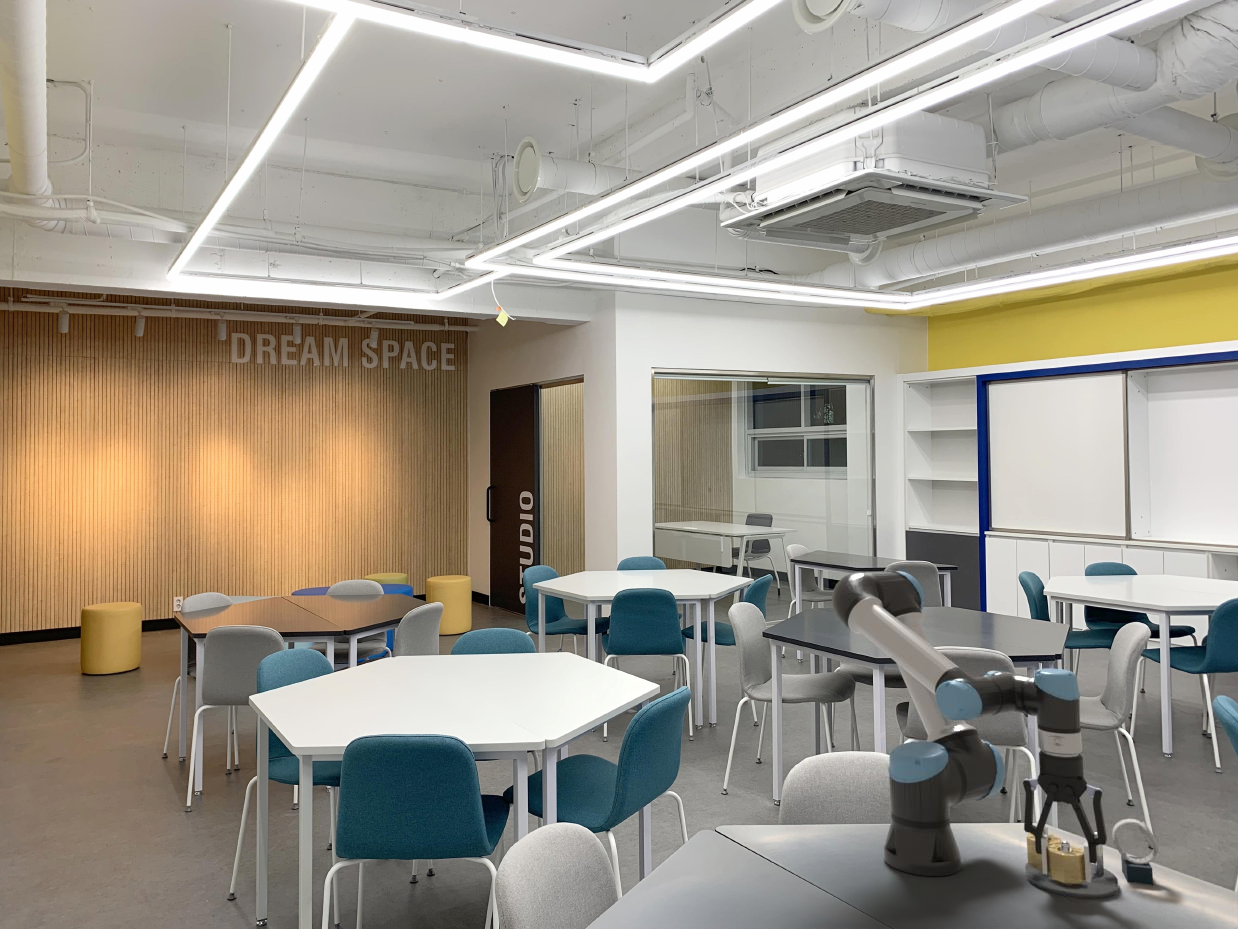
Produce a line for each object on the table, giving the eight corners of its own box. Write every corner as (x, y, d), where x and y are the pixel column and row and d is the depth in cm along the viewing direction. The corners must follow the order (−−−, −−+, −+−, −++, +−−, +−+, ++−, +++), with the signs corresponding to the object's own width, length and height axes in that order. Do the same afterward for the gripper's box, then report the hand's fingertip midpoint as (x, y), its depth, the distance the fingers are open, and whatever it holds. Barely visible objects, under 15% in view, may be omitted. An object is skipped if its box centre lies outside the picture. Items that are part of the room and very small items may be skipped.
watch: (1165, 886, 163) (1161, 827, 164) (1117, 881, 166) (1113, 823, 166) (1158, 875, 168) (1154, 818, 169) (1111, 870, 171) (1108, 814, 172)
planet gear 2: (1054, 882, 159) (1052, 854, 159) (1046, 870, 165) (1044, 843, 165) (1089, 884, 158) (1087, 856, 158) (1079, 872, 164) (1077, 845, 164)
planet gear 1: (1026, 865, 170) (1025, 840, 170) (1030, 855, 175) (1029, 830, 175) (1060, 871, 167) (1058, 845, 167) (1063, 861, 172) (1062, 836, 172)
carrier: (1020, 887, 163) (1017, 837, 164) (1031, 859, 177) (1029, 813, 178) (1115, 906, 155) (1112, 853, 155) (1120, 875, 168) (1117, 827, 169)
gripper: (1002, 750, 165) (1008, 872, 164) (1117, 763, 155) (1125, 894, 153) (1008, 741, 172) (1014, 858, 170) (1120, 754, 161) (1127, 879, 159)
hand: (1067, 875), depth 161 cm, fingers closed on planet gear 2, 6 cm apart
